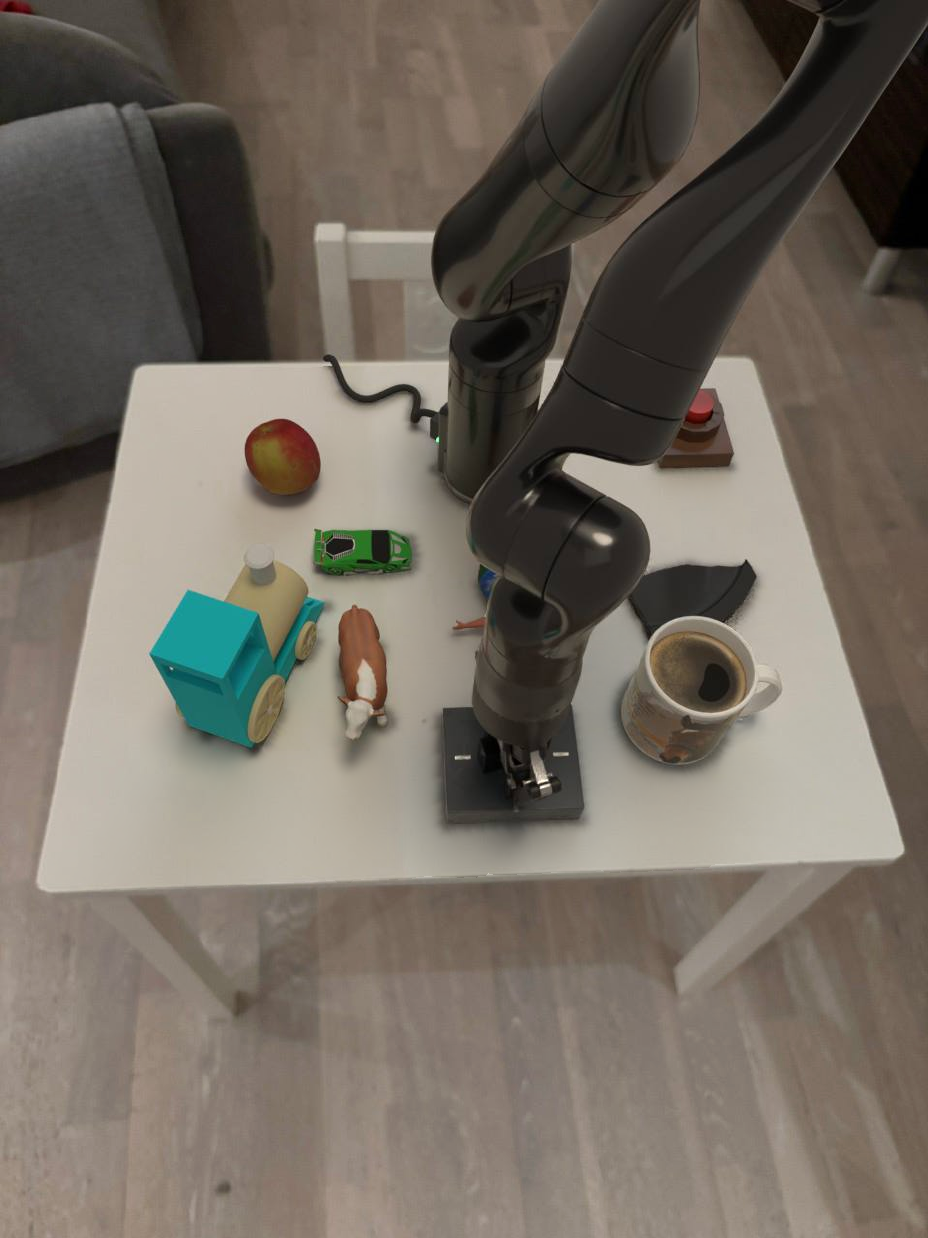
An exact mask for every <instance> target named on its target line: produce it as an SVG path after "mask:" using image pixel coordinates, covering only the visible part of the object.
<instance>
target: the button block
mask: <svg viewBox="0 0 928 1238" xmlns="http://www.w3.org/2000/svg"><path fill="white" fill-rule="evenodd" d="M700 390H702V391H704V392H706V393H708V394H709V395H710V396H711V397H712V398H713V401H714V406H713V409H712V412H711V414H710V417H709V419H708V420H707V421H706V422H704V423H701V424H693V423H690V422H688V421H685V420H684V422H683V424H682V426H681V428H680V430H679V432H678V434H677V436H676V438H675V440H674V441H673V443H672V445H671V446H670V448H669V449H668V451H667V452H666V454H665V455H664V456H663V457H662V458H661V459H660V460H658V461H657V462H658V466H659V468H660V469H668V468H669V469H671V468H674V469H675V468H701V467H702V468H703V467H704V468H705V467H706V468H707V467H729V466H730V464H731V461H732V459H733V457H734V455H735V452H734V448H733V445H732V441H731V438H730V434H729V431H728V427H727V424H726V420H725V411H724V408H723V405H722V403H721V402H720V399H719V395H718V392H717V389H716V388H715V387H713V388H712V387H711V388H710V387H709V388H708V387H707V388H700Z"/></svg>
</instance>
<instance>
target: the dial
mask: <svg viewBox="0 0 928 1238" xmlns="http://www.w3.org/2000/svg"><path fill="white" fill-rule="evenodd" d="M551 741H552V738H551V739H550V740H549V741H548V742H547V753H548V750H549V747H550V744H551ZM477 757H478V760H479V763H480V766H481V769H482V772H483V774H485V773H489V772H492V771H496V770H499V769H503V768H504V767H503V765H502V763H501V760H500V745H499V743H498V741H497V739H496V738H495V737H493V736H492V735H491V736H487V737H484V738H480V740H479V747H478V754H477Z"/></svg>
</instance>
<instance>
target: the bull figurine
mask: <svg viewBox="0 0 928 1238" xmlns="http://www.w3.org/2000/svg"><path fill="white" fill-rule="evenodd" d="M337 630H338V635H337V642H338V645H339V647H340V649H339V650H340V651H339V657H338V666H339V670H340V672H341V676H342V683H343V687H344V695H345V697H344V696H340V695H338V696H337V699H338V700H339V701H340V702H341V703H342V704H343V705H345V706H346V707H347V709H346V710H345V717H344V718H345V719H346V724H347V725H346V730H345V731H344V736H345V737H346V738H347V739H349V740H351V741H356V740H358V739H360V737H361V735H362V732H363V730H364V728H365V727H366V726H367V724H368V723H369V720H370V718H371V717H376V724H377V726H379V727H381V728H384V727H386V726H387V725H388V723H389V720H388V718H387V715H386V714H387V713H385V710H386V705H385V703H386V701H387V697H388V682H387V678H388V677H387V675H388V673H387V672H388V669H387V656H386V653H385V650H384V648H383V645H382V644H381V642H380V641H379V640H380V637H381V633H380V629H379V627H378V625H377V623H376V620H375V618H374V616H373V615H372V613H371V612H370V611H369V610H368V609H365V608H363V607H360V608H359V607H358V605H357V604H353V605H351V609H348V610H345V611H344V612H343V613H342V614H341V617H340V620H339V623H338V629H337Z"/></svg>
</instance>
